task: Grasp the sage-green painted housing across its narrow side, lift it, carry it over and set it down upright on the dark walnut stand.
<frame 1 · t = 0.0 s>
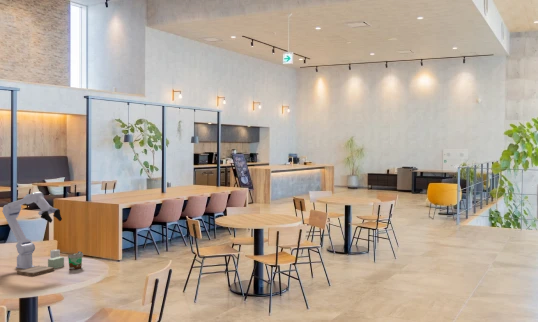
hand: (56, 220, 333), 32 cm above the table, tool tilted 50°, fingers open, 7 cm apart
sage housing: (56, 267, 347), on the table
food container: (77, 268, 343), on the table
walnut stand: (35, 272, 333), on the table
white rounded canister: (55, 262, 363), on the table
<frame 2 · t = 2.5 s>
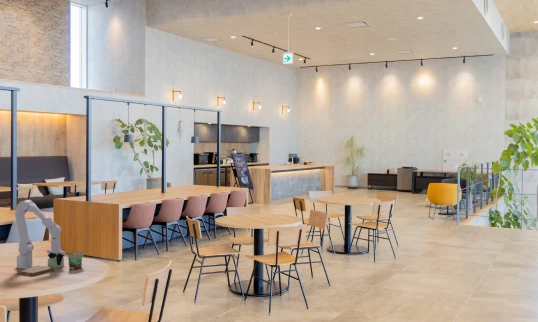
hand: (56, 264, 347), 2 cm above the table, tool pointing down, fingers closed on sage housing, 5 cm apart
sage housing: (56, 267, 347), on the table, touching gripper
everything else where it was.
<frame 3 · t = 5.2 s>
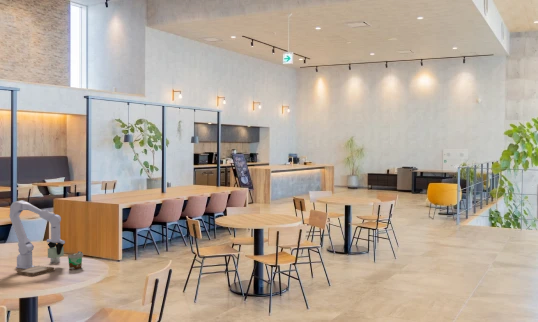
hand: (55, 254, 347), 9 cm above the table, tool pointing down, fingers closed on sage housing, 5 cm apart
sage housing: (55, 256, 347), point 7 cm above the table, touching gripper
everything else where it was.
when the fingers open (5 cm above the table, at t = 7.9 s): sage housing drops 1 cm, resting on walnut stand.
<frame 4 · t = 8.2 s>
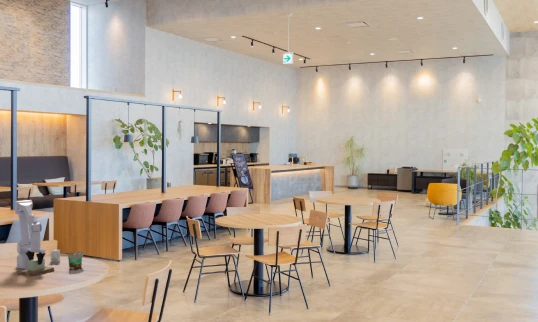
hand: (35, 263, 332), 5 cm above the table, tool pointing down, fingers open, 7 cm apart
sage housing: (36, 269, 333), point 2 cm above the table, touching walnut stand
everything else where it was.
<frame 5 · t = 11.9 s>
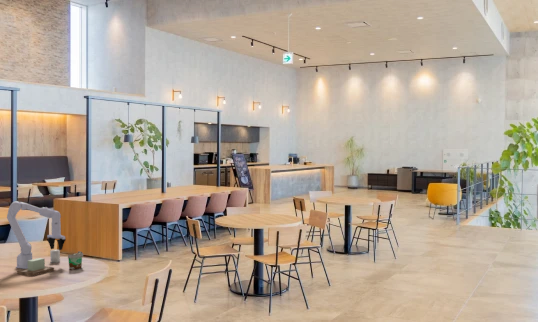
hand: (56, 249, 353), 10 cm above the table, tool pointing down, fingers open, 7 cm apart
nothing on the table moved.
at the end: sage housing inside the target area on the walnut stand (0.3 cm from its centre), point 2.0 cm above the walnut stand's base; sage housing tilted 0°; the gripper is holding nothing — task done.
